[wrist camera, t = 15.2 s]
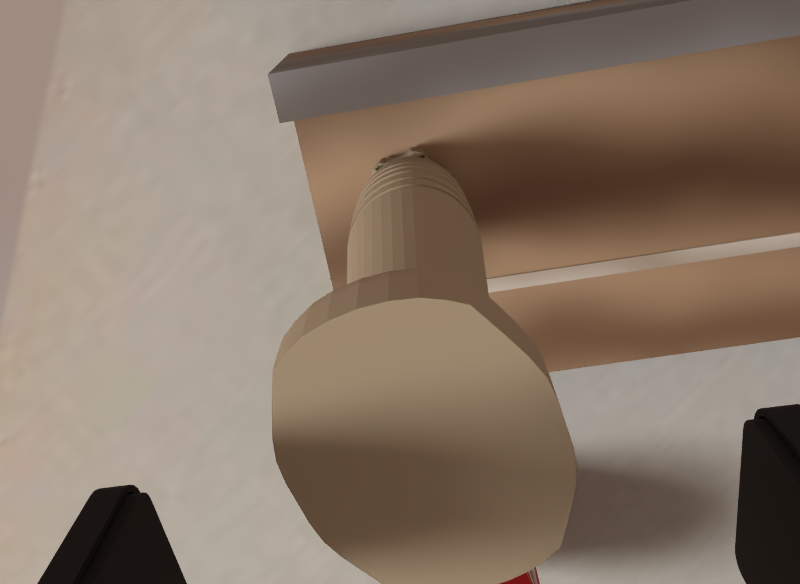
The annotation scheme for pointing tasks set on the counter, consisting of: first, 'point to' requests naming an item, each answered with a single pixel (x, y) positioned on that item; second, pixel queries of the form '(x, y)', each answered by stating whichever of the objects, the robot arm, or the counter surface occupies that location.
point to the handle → (421, 400)
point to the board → (587, 163)
